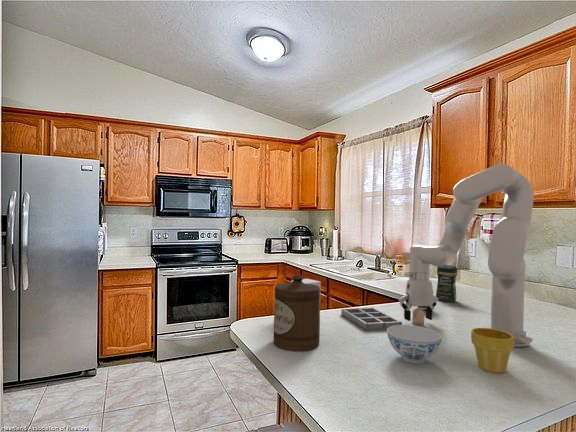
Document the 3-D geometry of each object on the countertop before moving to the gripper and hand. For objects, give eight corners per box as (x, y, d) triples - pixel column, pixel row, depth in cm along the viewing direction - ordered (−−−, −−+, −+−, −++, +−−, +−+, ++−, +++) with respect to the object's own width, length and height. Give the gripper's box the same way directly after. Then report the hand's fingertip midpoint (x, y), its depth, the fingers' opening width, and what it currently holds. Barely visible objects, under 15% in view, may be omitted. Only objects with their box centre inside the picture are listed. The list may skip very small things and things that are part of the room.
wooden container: (267, 337, 119) (269, 272, 119) (308, 334, 124) (309, 270, 124) (282, 353, 105) (284, 279, 105) (327, 348, 110) (329, 277, 110)
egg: (426, 325, 139) (426, 309, 139) (416, 325, 138) (417, 309, 138) (419, 321, 143) (420, 306, 143) (410, 322, 142) (410, 306, 142)
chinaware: (398, 346, 114) (398, 322, 114) (447, 358, 105) (448, 332, 105) (377, 359, 102) (378, 332, 103) (431, 374, 93) (431, 345, 93)
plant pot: (465, 367, 98) (465, 332, 99) (477, 358, 106) (478, 325, 106) (507, 380, 91) (508, 341, 91) (518, 369, 98) (518, 333, 98)
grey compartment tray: (401, 328, 133) (402, 321, 133) (365, 330, 129) (365, 323, 129) (373, 313, 154) (373, 307, 154) (341, 314, 150) (341, 308, 151)
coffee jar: (433, 300, 185) (434, 264, 185) (439, 297, 191) (439, 263, 191) (453, 303, 179) (454, 266, 179) (458, 301, 184) (459, 265, 185)
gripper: (405, 278, 135) (404, 323, 135) (444, 277, 139) (443, 321, 139) (394, 274, 142) (393, 317, 142) (431, 274, 147) (430, 316, 146)
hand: (418, 319), depth 141 cm, fingers open, 9 cm apart
